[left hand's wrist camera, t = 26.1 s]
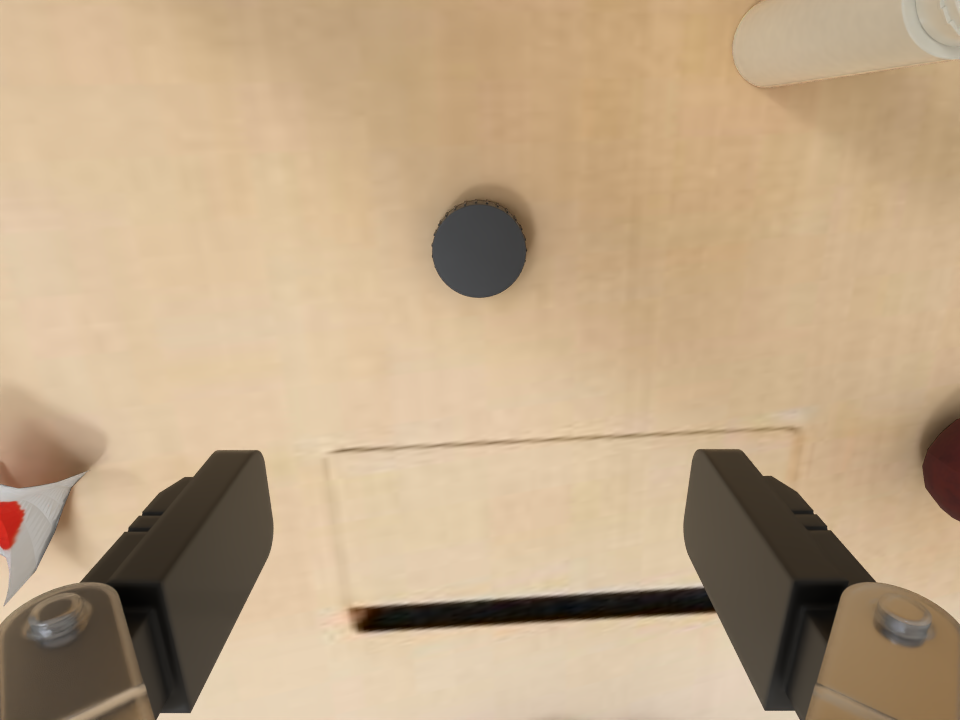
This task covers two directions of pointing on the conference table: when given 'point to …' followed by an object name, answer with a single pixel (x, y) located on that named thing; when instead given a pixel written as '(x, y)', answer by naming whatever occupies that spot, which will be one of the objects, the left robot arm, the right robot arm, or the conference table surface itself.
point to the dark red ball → (945, 470)
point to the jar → (842, 38)
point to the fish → (29, 526)
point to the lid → (479, 249)
